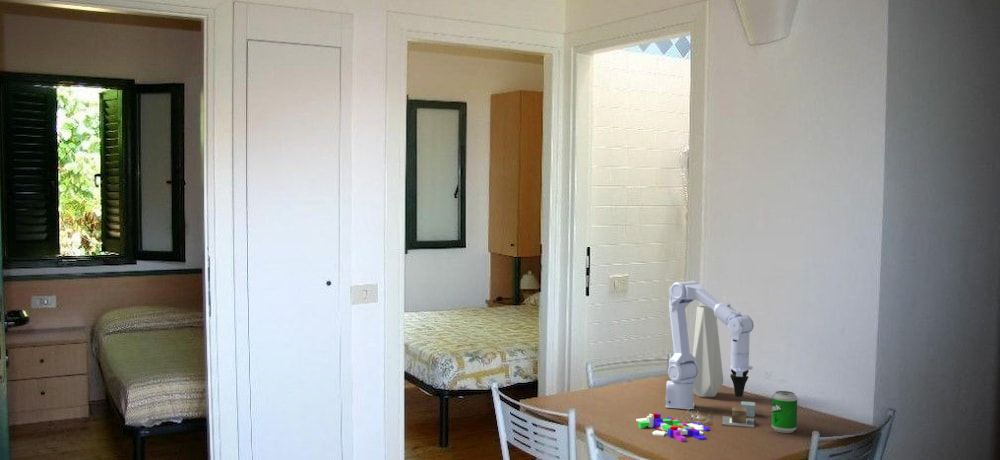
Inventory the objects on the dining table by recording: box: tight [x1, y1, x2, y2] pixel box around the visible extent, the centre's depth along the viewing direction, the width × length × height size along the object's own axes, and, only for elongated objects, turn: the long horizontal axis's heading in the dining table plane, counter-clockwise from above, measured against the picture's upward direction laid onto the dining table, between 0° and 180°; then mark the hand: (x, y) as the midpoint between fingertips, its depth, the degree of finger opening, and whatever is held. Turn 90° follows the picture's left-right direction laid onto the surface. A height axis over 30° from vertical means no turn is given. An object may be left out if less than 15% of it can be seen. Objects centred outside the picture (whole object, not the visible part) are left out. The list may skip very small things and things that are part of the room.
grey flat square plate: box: [721, 415, 755, 429], centre depth 279 cm, size 10×10×1 cm
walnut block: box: [731, 406, 747, 424], centre depth 279 cm, size 4×4×4 cm
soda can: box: [771, 390, 798, 434], centre depth 270 cm, size 8×8×12 cm
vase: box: [692, 305, 724, 398], centre depth 315 cm, size 12×12×33 cm
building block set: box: [635, 412, 711, 443], centre depth 271 cm, size 25×20×4 cm
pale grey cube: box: [740, 401, 756, 418], centre depth 289 cm, size 4×4×4 cm
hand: (739, 394), depth 279 cm, fingers open, 7 cm apart
